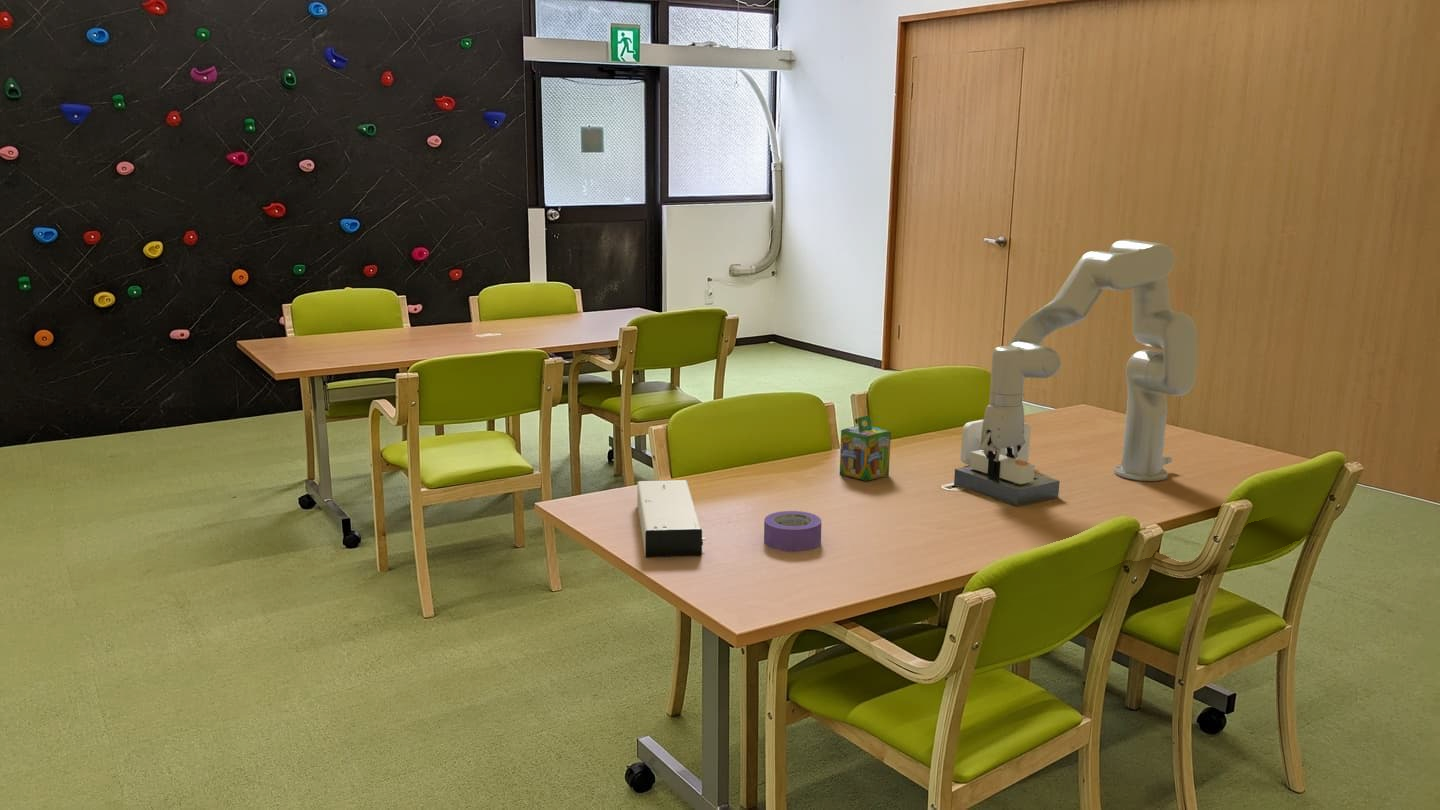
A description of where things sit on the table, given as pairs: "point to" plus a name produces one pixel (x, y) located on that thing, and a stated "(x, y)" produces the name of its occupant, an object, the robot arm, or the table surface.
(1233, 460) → the table surface
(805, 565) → the table surface
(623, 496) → the table surface
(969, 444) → the cable organizer
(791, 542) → the tape roll
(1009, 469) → the white bar with pegs
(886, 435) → the chalk box
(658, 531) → the laminator
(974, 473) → the grey slotted tray
